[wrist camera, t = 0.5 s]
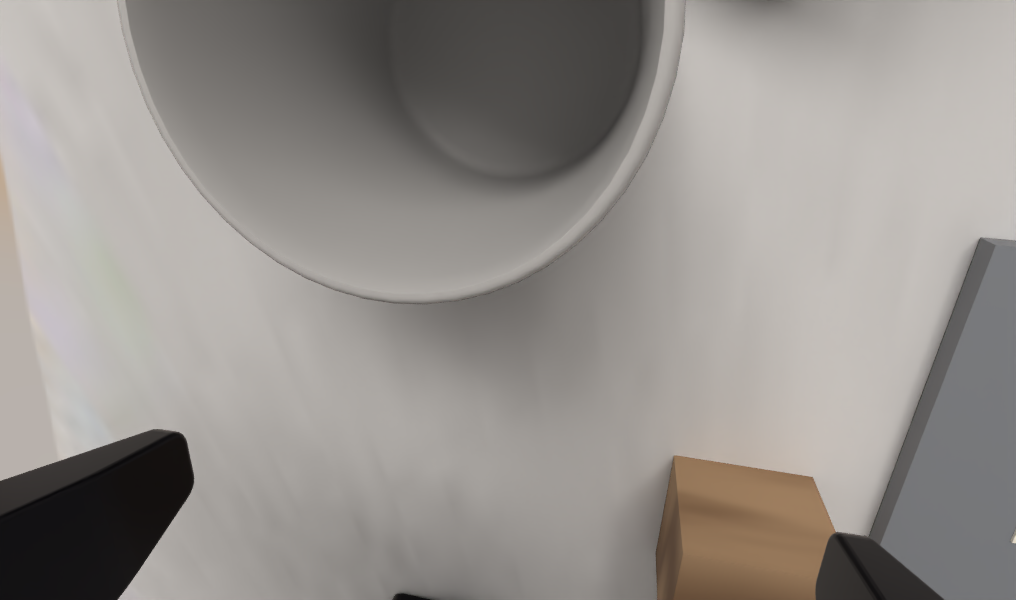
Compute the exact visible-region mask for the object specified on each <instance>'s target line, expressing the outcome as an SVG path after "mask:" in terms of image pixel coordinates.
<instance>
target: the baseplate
mask: <svg viewBox="0 0 1016 600" xmlns="http://www.w3.org/2000/svg"><path fill="white" fill-rule="evenodd" d="M869 538H871V539H873V540H874V541H876V542H877V543H878V544H879V545H880V546H882V547H883V548H884V549H885V550H886V551H888V552H889V553H890V554H891V555H892V556H894V557H895V558H896V559H897V560H898V561H900V562H901V563H902V564H903V565H904V566H905V567H907V568H908V569H909V570H910V571H911V572H913V573H914V574H915V575H916V576H917V577H919V578H920V579H921V580H922V581H923V582H925V583H926V584H927V585H928V586H929V587H930V588H932V589H933V590H934V591H935V592H936V593H938V594H939V595H940V596H941V597H942V598H944V599H945V600H1016V241H1013V240H1002V239H990V238H980V241H979V244H978V246H977V249H976V252H975V254H974V257H973V260H972V262H971V265H970V268H969V270H968V273H967V276H966V278H965V281H964V284H963V286H962V289H961V292H960V294H959V297H958V300H957V303H956V305H955V308H954V311H953V313H952V316H951V319H950V321H949V324H948V327H947V329H946V332H945V335H944V337H943V340H942V343H941V345H940V348H939V351H938V353H937V356H936V359H935V361H934V364H933V367H932V369H931V372H930V375H929V377H928V380H927V383H926V386H925V388H924V391H923V394H922V396H921V399H920V402H919V404H918V407H917V410H916V412H915V415H914V418H913V420H912V423H911V426H910V428H909V431H908V434H907V436H906V439H905V442H904V444H903V447H902V450H901V452H900V455H899V458H898V460H897V463H896V466H895V469H894V471H893V474H892V477H891V479H890V482H889V485H888V487H887V490H886V493H885V495H884V498H883V501H882V503H881V506H880V509H879V511H878V514H877V517H876V519H875V522H874V525H873V527H872V530H871V533H870V535H869Z"/></svg>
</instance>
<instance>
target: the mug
mask: <svg viewBox="0 0 1016 600" xmlns="http://www.w3.org/2000/svg"><path fill="white" fill-rule="evenodd" d="M117 4H118V10H119V16H120V22H121V27H122V32H123V36H124V40H125V43H126V47H127V51H128V54H129V58H130V62H131V65H132V69H133V71H134V74H135V77H136V79H137V82H138V85H139V87H140V90H141V92H142V95H143V98H144V100H145V103H146V105H147V107H148V109H149V111H150V113H151V115H152V117H153V119H154V122H155V124H156V126H157V128H158V130H159V132H160V134H161V136H162V138H163V139H164V141H165V143H166V144H167V146H168V147H169V149H170V151H171V152H172V154H173V156H174V157H175V159H176V160H177V162H178V164H179V165H180V167H181V169H182V170H183V171H184V172H185V174H186V175H187V176H188V178H189V179H190V180H191V182H192V183H193V184H194V186H195V187H196V188H197V190H198V191H199V192H200V194H201V195H202V196H203V197H204V198H205V199H206V200H207V202H208V203H209V204H210V205H211V206H212V207H213V208H214V209H215V210H216V211H217V212H218V213H219V214H220V215H221V217H222V218H223V219H224V220H225V221H226V222H227V223H228V224H229V225H231V226H232V227H233V228H234V229H235V230H236V231H237V232H239V233H240V234H241V235H242V236H243V237H244V238H245V239H247V240H248V241H249V242H250V243H251V244H252V245H254V246H255V247H257V248H258V249H259V250H261V251H262V252H264V253H265V254H266V255H268V256H269V257H271V258H272V259H273V260H275V261H276V262H278V263H279V264H281V265H283V266H285V267H287V268H288V269H290V270H292V271H294V272H296V273H297V274H299V275H301V276H303V277H305V278H307V279H309V280H312V281H314V282H316V283H319V284H321V285H324V286H326V287H328V288H331V289H333V290H336V291H339V292H343V293H346V294H350V295H354V296H357V297H361V298H364V299H370V300H376V301H383V302H389V303H399V304H432V303H442V302H451V301H459V300H463V299H467V298H471V297H476V296H480V295H484V294H488V293H491V292H494V291H496V290H499V289H502V288H504V287H507V286H510V285H512V284H515V283H517V282H520V281H521V280H523V279H525V278H527V277H529V276H531V275H532V274H534V273H536V272H538V271H540V270H542V269H543V268H545V267H547V266H549V265H550V264H551V263H553V262H554V261H555V260H557V259H558V258H559V257H561V256H562V255H563V254H565V253H566V252H568V251H569V250H570V249H572V248H573V247H574V246H576V245H577V244H578V243H579V242H580V241H581V240H582V239H583V238H584V237H585V236H586V235H587V234H588V233H589V232H590V231H591V230H592V229H593V228H594V227H595V226H596V225H597V224H598V223H600V222H601V221H602V219H603V218H604V217H605V216H606V215H607V213H608V212H609V211H610V210H611V208H612V207H613V206H614V205H615V203H616V202H617V201H618V200H619V198H620V197H621V196H622V195H623V193H624V192H625V191H626V190H627V188H628V186H629V185H630V183H631V181H632V180H633V178H634V176H635V175H636V173H637V171H638V170H639V168H640V166H641V165H642V163H643V161H644V160H645V158H646V156H647V154H648V152H649V150H650V148H651V145H652V143H653V141H654V139H655V136H656V134H657V132H658V130H659V127H660V125H661V123H662V121H663V118H664V115H665V112H666V109H667V105H668V102H669V99H670V96H671V92H672V89H673V86H674V83H675V79H676V75H677V70H678V64H679V59H680V53H681V47H682V42H683V36H684V26H685V6H686V0H117Z"/></svg>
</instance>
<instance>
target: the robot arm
mask: <svg viewBox="0 0 1016 600" xmlns="http://www.w3.org/2000/svg"><path fill="white" fill-rule="evenodd" d="M193 484H194V473H193V468H192V464H191V459H190V454H189V449H188V444H187V441H186V438H185V437H184V436H183V434H181V433H179V432H175V431H169V430H162V429H153V430H150V431H147V432H144V433H141V434H138V435H135V436H132V437H129V438H126V439H123V440H120V441H117V442H114V443H111V444H108V445H105V446H102V447H99V448H96V449H93V450H91V451H88V452H85V453H82V454H79V455H76V456H73V457H70V458H67V459H64V460H61V461H58V462H55V463H52V464H49V465H46V466H43V467H40V468H37V469H34V470H32V471H28V472H26V473H23V474H20V475H17V476H14V477H11V478H8V479H5V480H2V481H0V600H118V599H119V597H120V596H121V595H122V593H123V592H124V591H125V589H126V588H127V587H128V585H129V584H130V582H131V581H132V580H133V578H134V577H135V575H136V574H137V573H138V571H139V570H140V568H141V567H142V565H143V564H144V562H145V561H146V559H147V558H148V556H149V555H150V553H151V552H152V550H153V549H154V547H155V546H156V544H157V543H158V541H159V540H160V538H161V537H162V535H163V534H164V532H165V531H166V529H167V528H168V526H169V525H170V523H171V522H172V520H173V519H174V517H175V516H176V514H177V513H178V511H179V510H180V508H181V507H182V505H183V504H184V502H185V501H186V499H187V498H188V497H189V495H190V493H191V491H192V488H193ZM815 597H816V600H945V599H944V598H942V597H941V596H940V595H939V594H938V593H936V592H935V591H934V590H933V589H932V588H930V587H929V586H928V585H927V584H926V583H925V582H923V581H922V580H921V579H920V578H919V577H917V576H916V575H915V574H914V573H913V572H911V571H910V570H909V569H908V568H907V567H905V566H904V565H903V564H902V563H901V562H900V561H898V560H897V559H896V558H895V557H894V556H892V555H891V554H890V553H889V552H888V551H886V550H885V549H884V548H883V547H882V546H880V545H879V544H878V543H877V542H876V541H874V540H873V539H871V538H869V537H867V536H862V535H855V534H848V533H842V532H836V533H833V534H832V535H831V536H830V537H829V539H828V542H827V545H826V549H825V552H824V556H823V559H822V562H821V566H820V569H819V573H818V576H817V580H816V586H815ZM393 600H430V599H425V598H420V597H416V596H411V595H406V594H396V595H395V596H394V598H393Z"/></svg>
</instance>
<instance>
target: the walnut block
mask: <svg viewBox="0 0 1016 600" xmlns="http://www.w3.org/2000/svg"><path fill="white" fill-rule="evenodd" d="M833 533H836V532H835V529H834V527H833V525H832V522H831V520H830V517H829V515H828V513H827V510H826V508H825V506H824V503H823V501H822V498H821V496H820V494H819V491H818V489H817V487H816V484H815V482H814V479H813V477H808V476H802V475H795V474H789V473H783V472H776V471H770V470H764V469H757V468H751V467H745V466H738V465H732V464H726V463H719V462H713V461H707V460H700V459H694V458H688V457H681V456H675V455H674V458H673V464H672V469H671V474H670V480H669V485H668V490H667V496H666V501H665V506H664V512H663V517H662V522H661V528H660V533H659V538H658V544H657V549H656V573H657V600H816V597H815V586H816V580H817V576H818V573H819V569H820V566H821V562H822V559H823V556H824V552H825V549H826V545H827V542H828V539H829V537H830V536H831V535H832V534H833Z"/></svg>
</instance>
